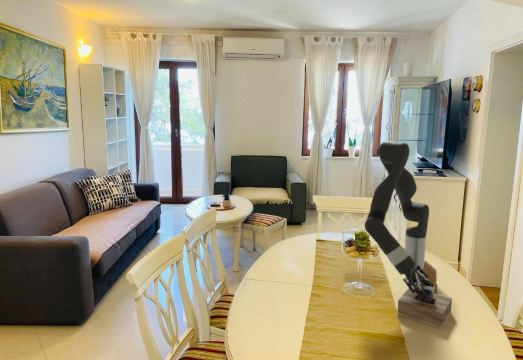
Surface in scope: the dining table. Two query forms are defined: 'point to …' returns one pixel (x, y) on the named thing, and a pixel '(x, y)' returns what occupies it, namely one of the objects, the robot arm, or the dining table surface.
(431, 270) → the ammunition clip
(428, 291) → the gray rectangular block
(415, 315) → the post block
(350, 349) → the dining table surface
